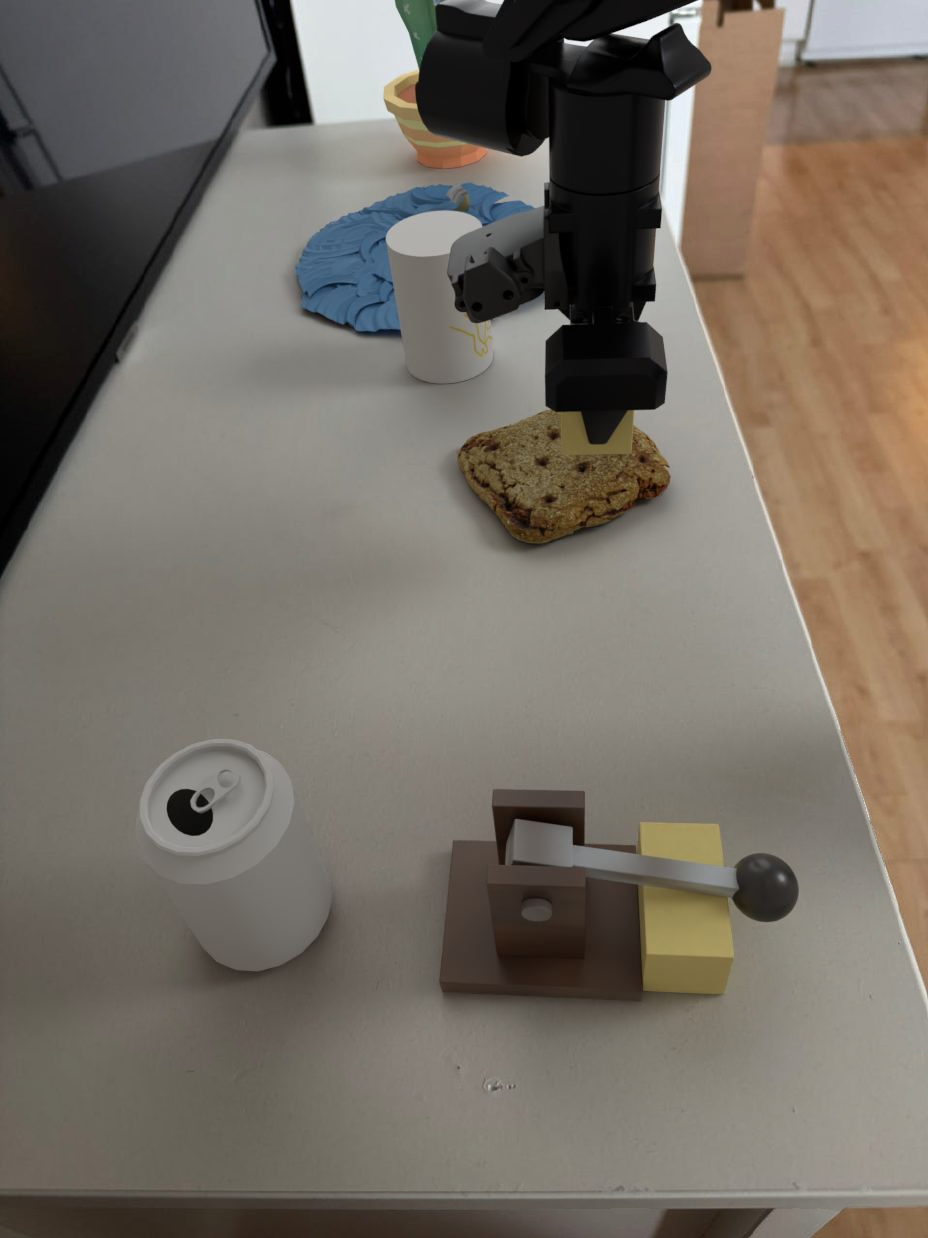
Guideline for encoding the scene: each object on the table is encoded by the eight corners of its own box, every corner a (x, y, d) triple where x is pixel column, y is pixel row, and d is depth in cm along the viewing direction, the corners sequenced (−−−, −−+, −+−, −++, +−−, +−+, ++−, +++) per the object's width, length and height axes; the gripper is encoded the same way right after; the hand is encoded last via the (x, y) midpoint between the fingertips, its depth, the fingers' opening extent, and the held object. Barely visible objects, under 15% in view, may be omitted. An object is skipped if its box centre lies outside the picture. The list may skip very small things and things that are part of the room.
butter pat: (627, 412, 63) (630, 365, 60) (631, 454, 60) (634, 406, 57) (560, 414, 63) (560, 367, 61) (561, 455, 60) (560, 408, 58)
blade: (778, 876, 48) (803, 846, 46) (787, 937, 46) (814, 908, 43) (505, 837, 47) (516, 804, 45) (501, 897, 45) (513, 866, 43)
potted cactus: (376, 179, 117) (338, -65, 99) (408, 129, 127) (380, -100, 109) (498, 179, 114) (483, -73, 96) (522, 128, 124) (512, -109, 106)
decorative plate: (546, 358, 89) (545, 308, 85) (254, 334, 96) (240, 287, 92) (599, 205, 107) (600, 158, 103) (350, 194, 114) (342, 150, 110)
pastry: (694, 429, 78) (697, 398, 75) (638, 572, 67) (641, 541, 65) (496, 398, 83) (494, 368, 81) (416, 526, 72) (411, 495, 70)
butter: (710, 865, 52) (719, 823, 48) (723, 995, 47) (734, 957, 44) (635, 863, 52) (639, 821, 49) (641, 991, 47) (646, 954, 44)
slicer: (635, 855, 52) (643, 765, 46) (641, 1001, 47) (652, 922, 40) (455, 850, 53) (438, 761, 47) (441, 992, 48) (420, 914, 42)
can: (175, 906, 53) (94, 788, 44) (287, 825, 56) (233, 698, 47) (244, 1008, 48) (170, 900, 40) (362, 914, 51) (318, 794, 43)
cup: (481, 386, 85) (469, 257, 76) (395, 380, 86) (373, 255, 78) (502, 336, 90) (492, 211, 81) (420, 332, 92) (401, 209, 83)
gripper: (462, 111, 56) (479, 344, 68) (434, 265, 44) (461, 519, 55) (652, 100, 55) (637, 339, 67) (680, 256, 43) (655, 517, 54)
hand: (596, 420), depth 61 cm, fingers closed on butter pat, 4 cm apart
